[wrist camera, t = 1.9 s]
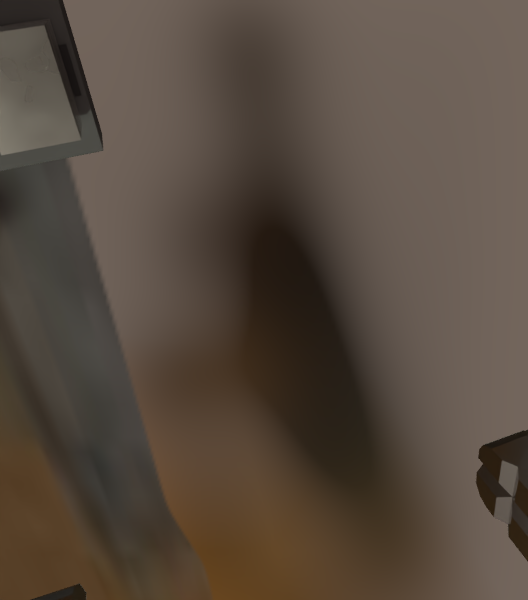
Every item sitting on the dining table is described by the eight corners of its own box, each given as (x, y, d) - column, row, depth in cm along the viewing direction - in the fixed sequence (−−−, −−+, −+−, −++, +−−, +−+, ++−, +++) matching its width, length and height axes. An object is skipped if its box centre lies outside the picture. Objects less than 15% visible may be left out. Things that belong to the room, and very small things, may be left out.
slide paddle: (11, 134, 22) (1, 155, 19) (-31, 30, 19) (-48, 39, 17) (82, 121, 22) (81, 140, 20) (49, 18, 20) (44, 25, 17)
